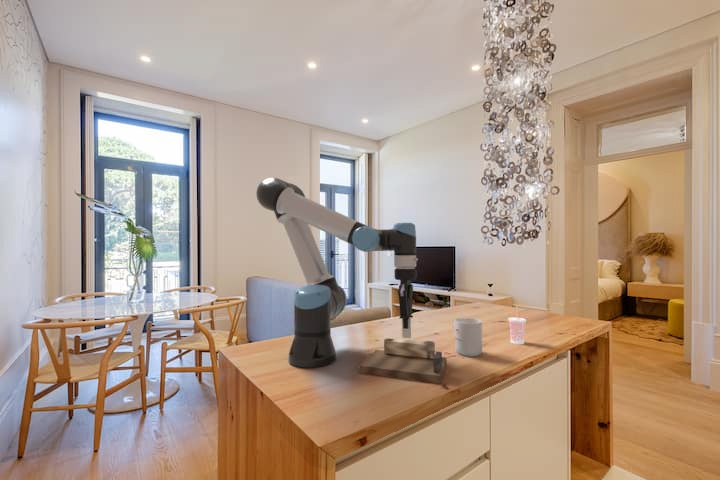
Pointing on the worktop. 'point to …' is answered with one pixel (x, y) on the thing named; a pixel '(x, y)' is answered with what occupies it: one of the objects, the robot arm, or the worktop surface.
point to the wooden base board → (405, 366)
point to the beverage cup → (517, 329)
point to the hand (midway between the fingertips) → (406, 337)
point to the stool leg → (409, 348)
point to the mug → (468, 336)
